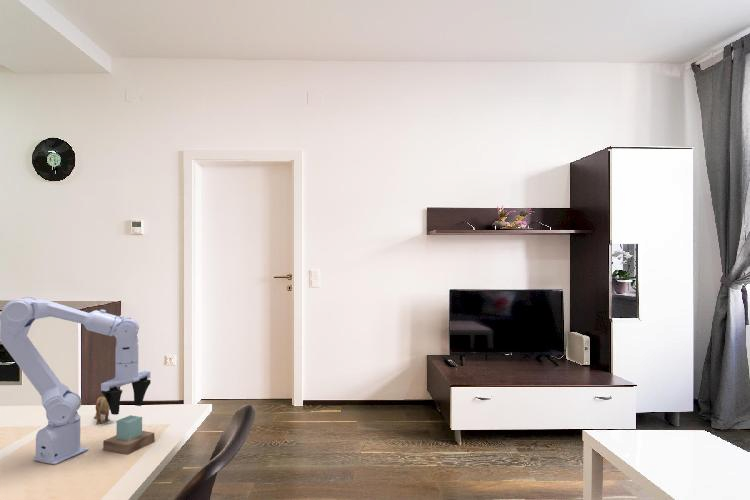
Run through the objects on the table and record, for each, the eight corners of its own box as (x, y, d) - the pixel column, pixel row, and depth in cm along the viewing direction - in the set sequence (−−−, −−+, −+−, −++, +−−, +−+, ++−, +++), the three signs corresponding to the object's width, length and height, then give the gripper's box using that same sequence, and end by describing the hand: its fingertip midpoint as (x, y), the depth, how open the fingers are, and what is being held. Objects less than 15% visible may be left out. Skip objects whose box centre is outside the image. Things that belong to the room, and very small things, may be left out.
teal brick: (128, 440, 124) (128, 422, 124) (116, 438, 126) (116, 420, 126) (142, 434, 128) (142, 417, 128) (130, 432, 130) (130, 415, 130)
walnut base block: (127, 454, 121) (127, 445, 121) (103, 449, 124) (103, 440, 124) (154, 441, 130) (154, 432, 130) (131, 437, 133) (131, 428, 133)
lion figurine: (117, 423, 145) (117, 395, 145) (98, 427, 141) (98, 398, 141) (105, 412, 155) (105, 385, 155) (87, 415, 152) (87, 389, 152)
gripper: (114, 368, 120) (114, 419, 119) (158, 357, 133) (158, 403, 133) (95, 366, 122) (95, 416, 122) (140, 355, 136) (140, 400, 136)
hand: (126, 409), depth 128 cm, fingers open, 7 cm apart
